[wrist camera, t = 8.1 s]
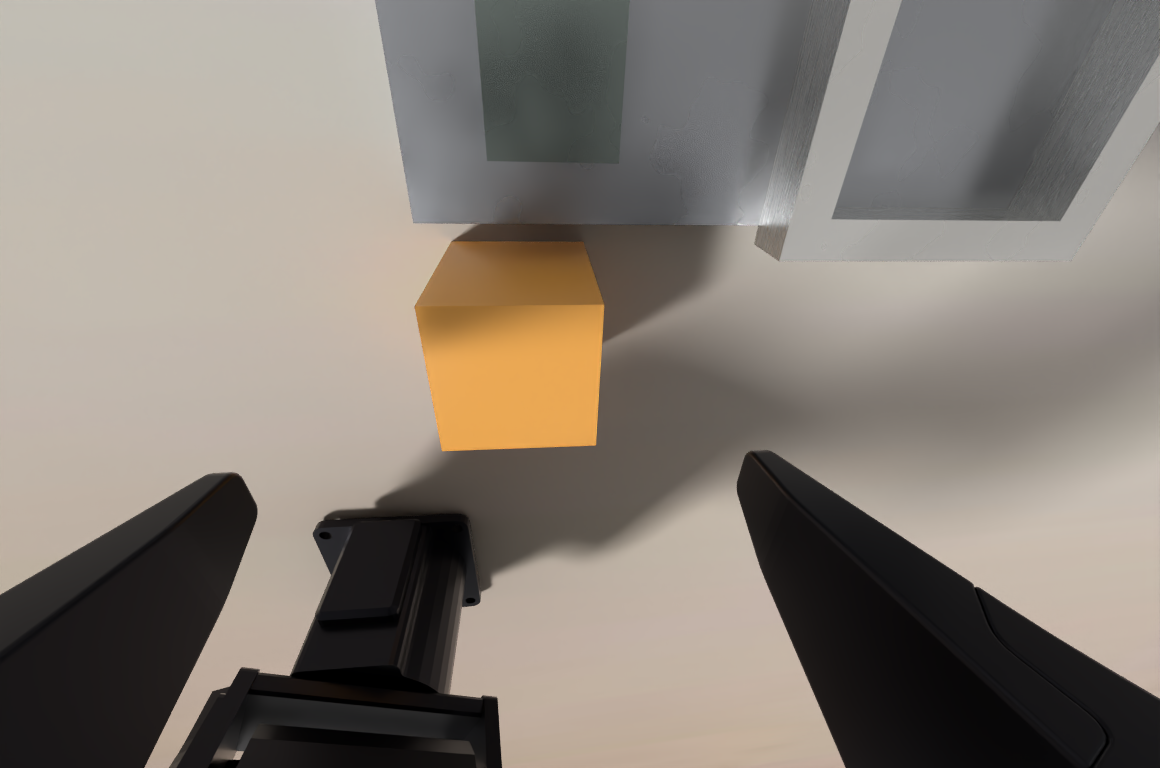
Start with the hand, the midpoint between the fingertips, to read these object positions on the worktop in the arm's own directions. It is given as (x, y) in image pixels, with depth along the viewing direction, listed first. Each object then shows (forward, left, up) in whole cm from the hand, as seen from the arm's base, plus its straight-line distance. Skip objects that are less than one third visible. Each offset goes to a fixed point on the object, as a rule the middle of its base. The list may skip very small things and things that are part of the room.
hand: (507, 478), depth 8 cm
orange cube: (0, 0, -8) cm, 8 cm away
